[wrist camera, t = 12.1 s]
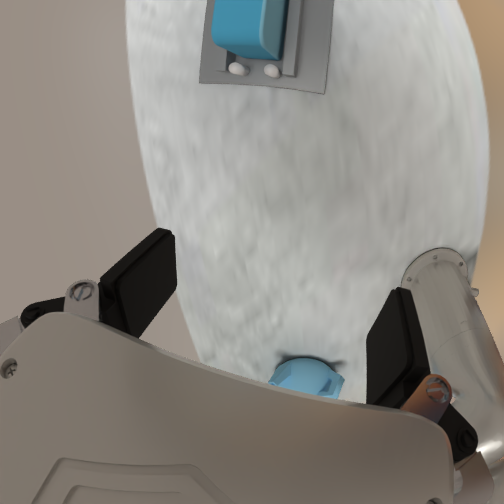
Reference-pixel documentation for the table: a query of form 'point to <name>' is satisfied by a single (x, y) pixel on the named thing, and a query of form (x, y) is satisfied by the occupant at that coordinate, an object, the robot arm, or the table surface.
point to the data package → (250, 27)
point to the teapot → (308, 377)
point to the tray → (293, 59)
